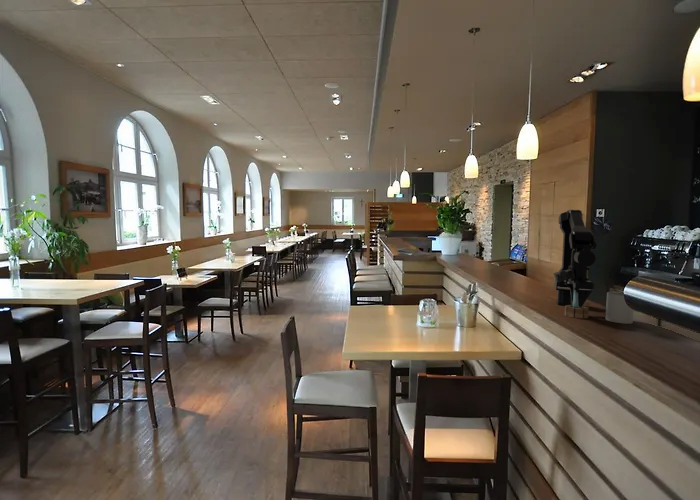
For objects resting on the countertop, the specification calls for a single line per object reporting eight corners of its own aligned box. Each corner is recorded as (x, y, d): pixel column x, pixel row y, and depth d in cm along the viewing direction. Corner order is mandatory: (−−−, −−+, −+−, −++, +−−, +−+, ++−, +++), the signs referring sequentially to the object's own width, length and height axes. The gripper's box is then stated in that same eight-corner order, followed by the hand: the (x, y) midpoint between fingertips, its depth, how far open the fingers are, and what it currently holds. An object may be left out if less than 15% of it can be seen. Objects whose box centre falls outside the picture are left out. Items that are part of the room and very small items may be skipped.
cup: (626, 318, 153) (628, 292, 152) (637, 324, 145) (639, 296, 144) (601, 317, 155) (603, 291, 154) (611, 322, 147) (613, 295, 146)
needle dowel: (571, 314, 157) (573, 289, 157) (579, 315, 157) (581, 289, 156) (573, 316, 155) (574, 290, 154) (581, 317, 154) (583, 291, 153)
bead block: (562, 313, 160) (563, 304, 160) (584, 314, 158) (585, 305, 158) (567, 317, 153) (568, 308, 153) (590, 319, 151) (590, 309, 151)
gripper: (551, 260, 165) (549, 298, 166) (561, 265, 147) (559, 307, 149) (582, 261, 162) (579, 300, 163) (596, 266, 144) (593, 310, 146)
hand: (576, 304), depth 155 cm, fingers open, 9 cm apart
